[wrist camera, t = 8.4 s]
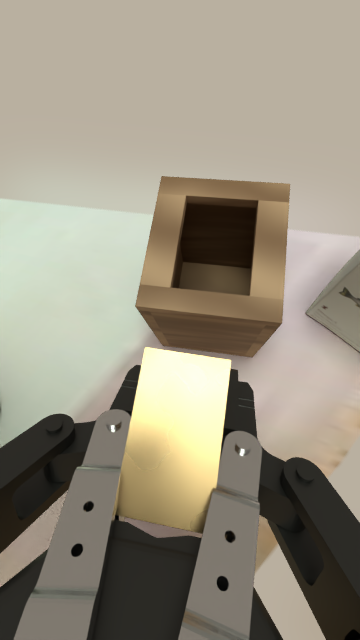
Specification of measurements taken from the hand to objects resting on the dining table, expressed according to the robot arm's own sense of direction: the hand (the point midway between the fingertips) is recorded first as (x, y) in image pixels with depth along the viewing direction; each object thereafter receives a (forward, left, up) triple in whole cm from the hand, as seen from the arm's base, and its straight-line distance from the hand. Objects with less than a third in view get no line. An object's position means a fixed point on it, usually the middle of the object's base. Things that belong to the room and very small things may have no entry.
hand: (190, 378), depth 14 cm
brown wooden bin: (+8, +5, -15) cm, 18 cm away
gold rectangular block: (-2, -1, -4) cm, 5 cm away
